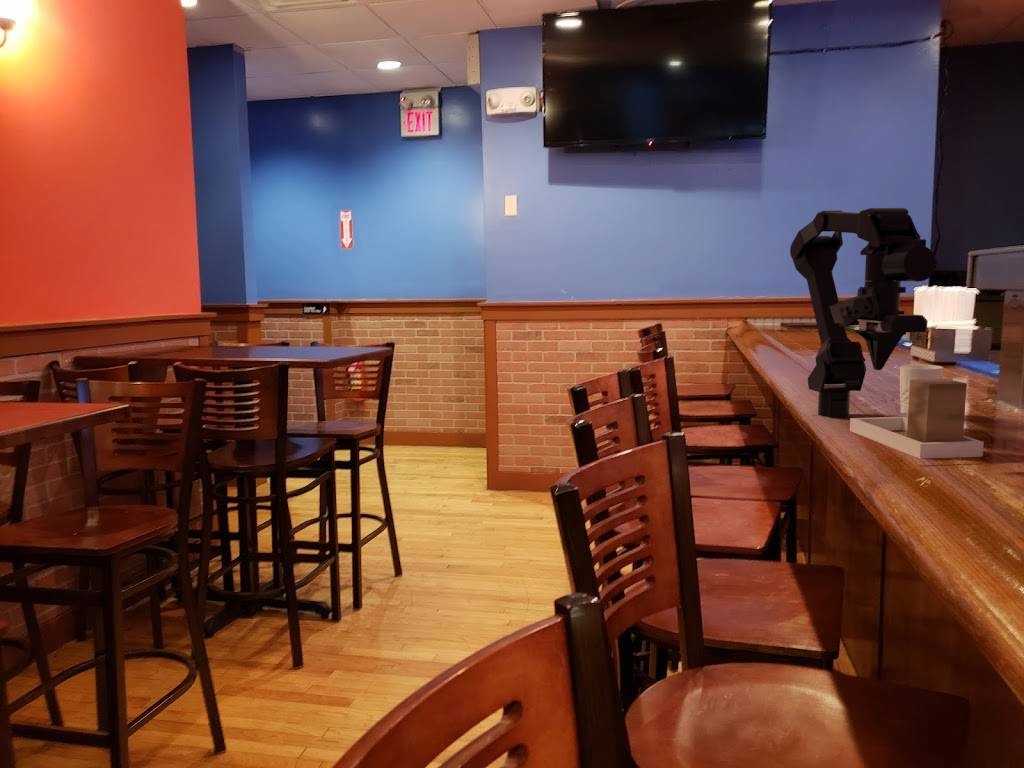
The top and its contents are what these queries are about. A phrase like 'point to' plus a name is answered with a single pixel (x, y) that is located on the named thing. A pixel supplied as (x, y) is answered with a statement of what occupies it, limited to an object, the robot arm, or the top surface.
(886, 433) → the box
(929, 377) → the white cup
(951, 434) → the walnut block
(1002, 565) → the top surface
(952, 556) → the top surface
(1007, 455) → the top surface
